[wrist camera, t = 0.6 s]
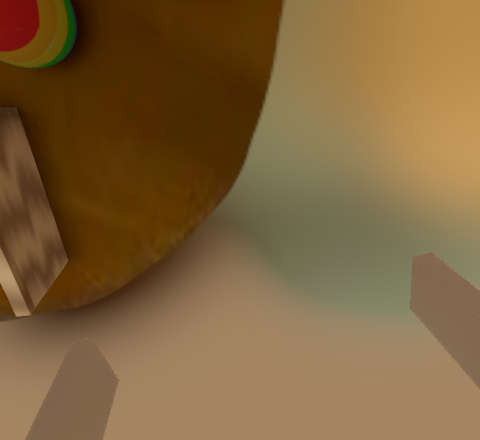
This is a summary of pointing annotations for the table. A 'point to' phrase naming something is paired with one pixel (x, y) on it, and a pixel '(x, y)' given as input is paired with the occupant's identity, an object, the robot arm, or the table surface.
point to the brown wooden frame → (25, 221)
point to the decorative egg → (36, 32)
